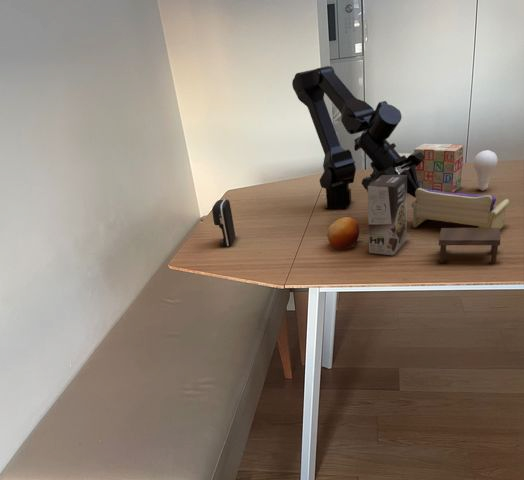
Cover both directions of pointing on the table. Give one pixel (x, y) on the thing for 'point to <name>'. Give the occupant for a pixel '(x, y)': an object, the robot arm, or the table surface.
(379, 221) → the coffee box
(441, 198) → the toy sofa
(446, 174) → the stack of blocks
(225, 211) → the battery charger
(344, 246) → the fruit
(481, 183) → the lightbulb
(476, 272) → the table surface
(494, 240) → the coffee table
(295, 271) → the table surface
